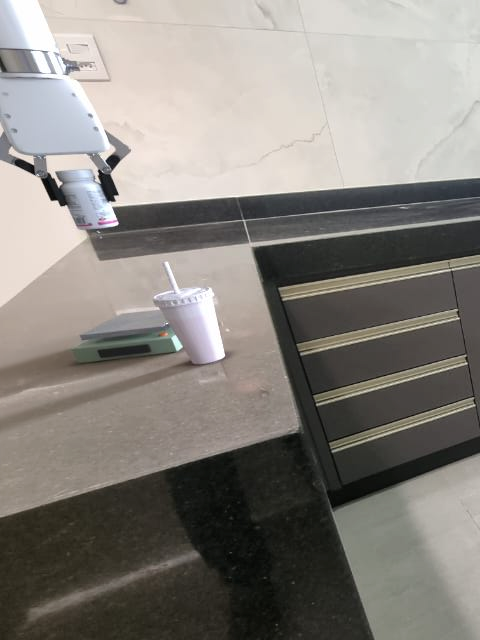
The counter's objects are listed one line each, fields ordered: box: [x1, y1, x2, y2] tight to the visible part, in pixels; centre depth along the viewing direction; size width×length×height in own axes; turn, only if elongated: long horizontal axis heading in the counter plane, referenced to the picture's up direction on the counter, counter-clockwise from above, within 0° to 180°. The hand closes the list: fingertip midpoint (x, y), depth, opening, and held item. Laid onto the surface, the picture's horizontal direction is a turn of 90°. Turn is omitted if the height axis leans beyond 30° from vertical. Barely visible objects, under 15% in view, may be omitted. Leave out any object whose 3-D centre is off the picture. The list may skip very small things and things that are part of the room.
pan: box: [79, 309, 170, 341], centre depth 80 cm, size 10×10×1 cm
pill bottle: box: [54, 168, 119, 231], centre depth 80 cm, size 5×5×8 cm
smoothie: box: [151, 261, 226, 365], centre depth 72 cm, size 6×6×14 cm
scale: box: [71, 327, 184, 364], centre depth 81 cm, size 12×12×2 cm
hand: (87, 202), depth 81 cm, fingers closed on pill bottle, 4 cm apart
